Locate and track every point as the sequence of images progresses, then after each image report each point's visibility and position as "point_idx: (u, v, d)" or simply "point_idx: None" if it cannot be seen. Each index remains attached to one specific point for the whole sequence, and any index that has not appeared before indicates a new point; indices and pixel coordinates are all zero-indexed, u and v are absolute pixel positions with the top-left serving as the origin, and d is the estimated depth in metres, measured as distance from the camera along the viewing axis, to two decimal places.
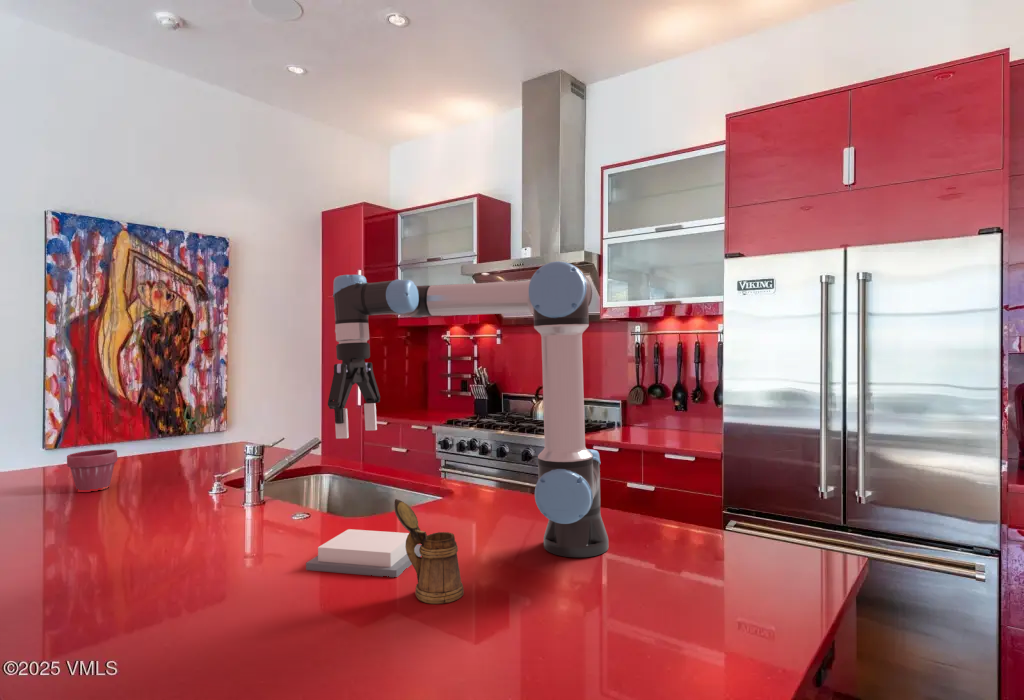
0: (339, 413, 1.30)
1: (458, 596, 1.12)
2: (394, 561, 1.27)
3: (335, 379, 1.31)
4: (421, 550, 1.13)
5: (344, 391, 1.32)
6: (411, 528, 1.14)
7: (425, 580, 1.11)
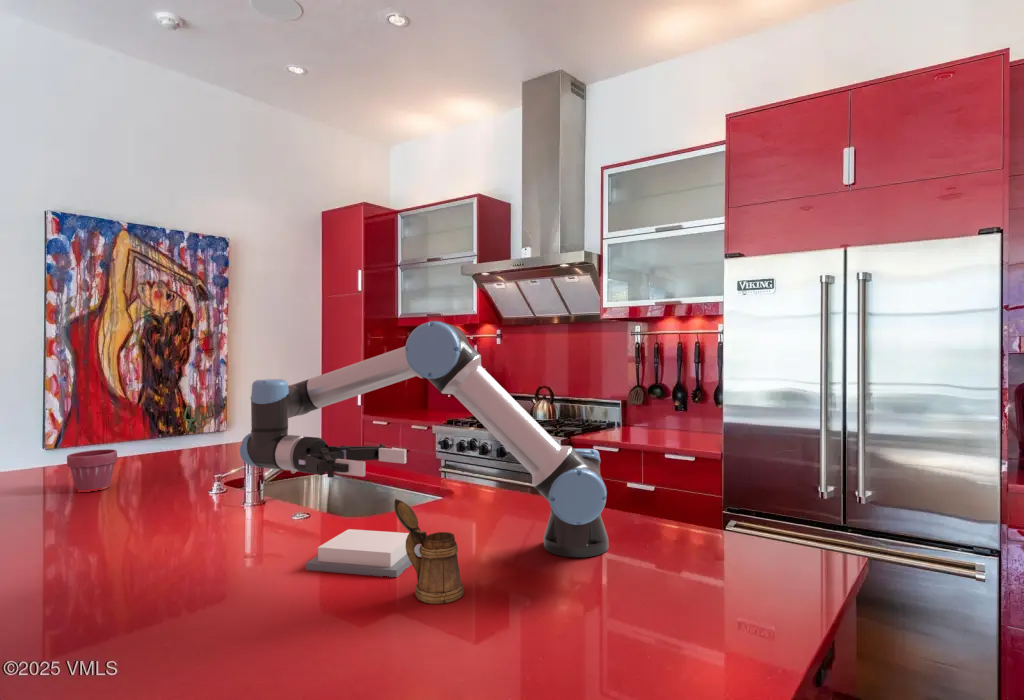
0: (335, 465, 1.14)
1: (458, 596, 1.12)
2: (394, 561, 1.27)
3: (308, 466, 1.17)
4: (421, 550, 1.13)
5: (324, 460, 1.18)
6: (411, 528, 1.14)
7: (425, 580, 1.11)
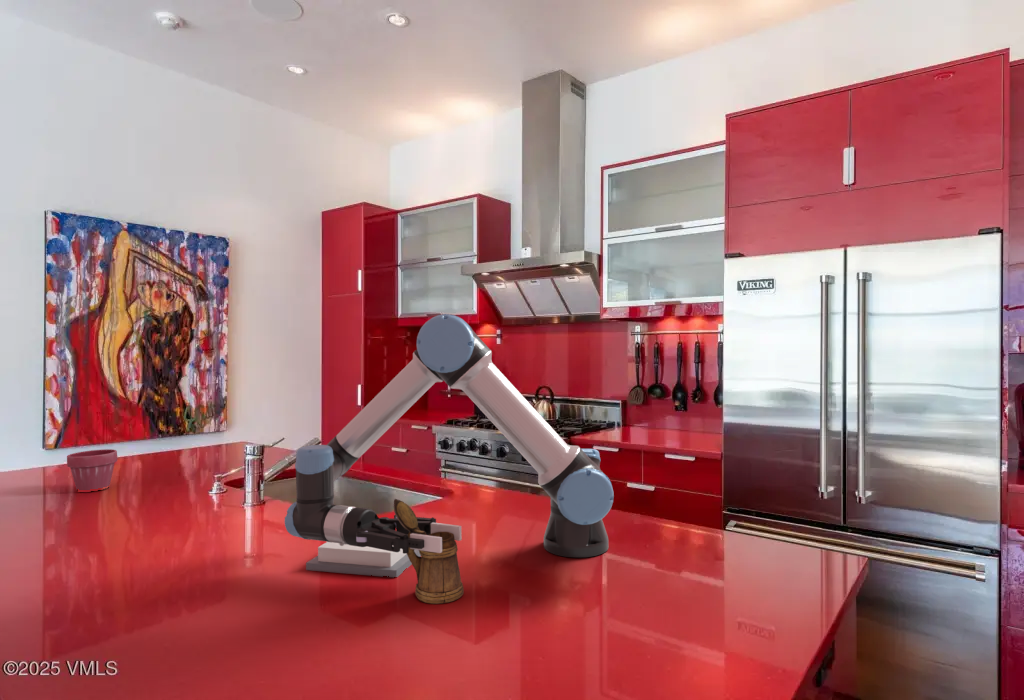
0: (410, 541, 1.10)
1: (458, 596, 1.12)
2: (394, 561, 1.27)
3: (372, 543, 1.12)
4: (421, 550, 1.12)
5: (391, 535, 1.14)
6: (411, 528, 1.13)
7: (425, 580, 1.11)
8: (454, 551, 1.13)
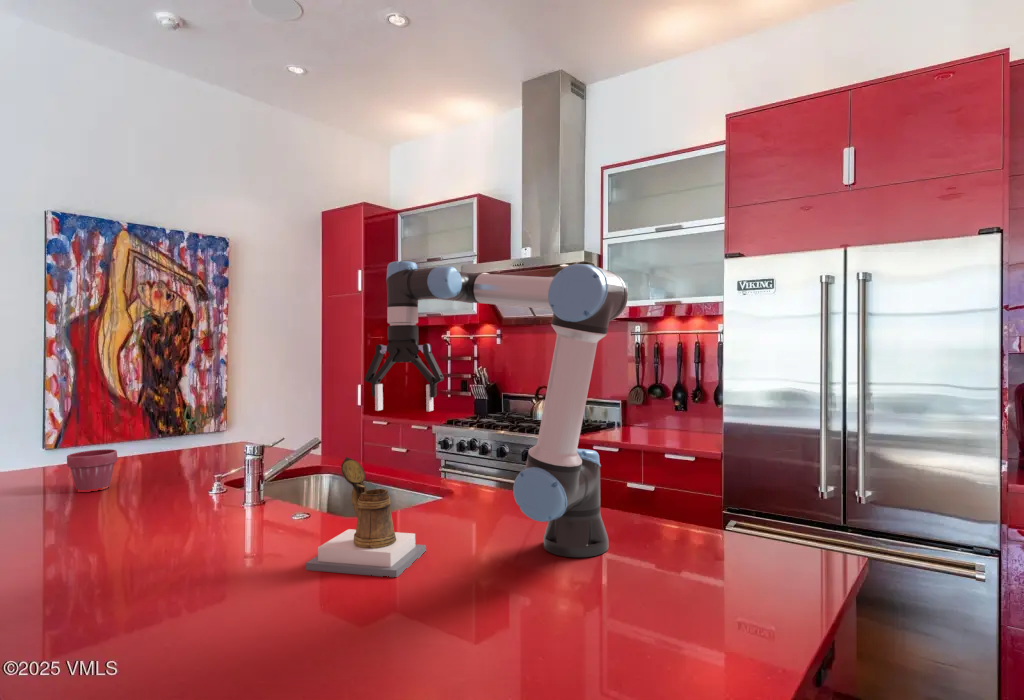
0: None
1: (384, 544, 1.29)
2: (394, 561, 1.27)
3: None
4: None
5: None
6: (352, 482, 1.33)
7: (357, 527, 1.30)
8: (382, 505, 1.29)
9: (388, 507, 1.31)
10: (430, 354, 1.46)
